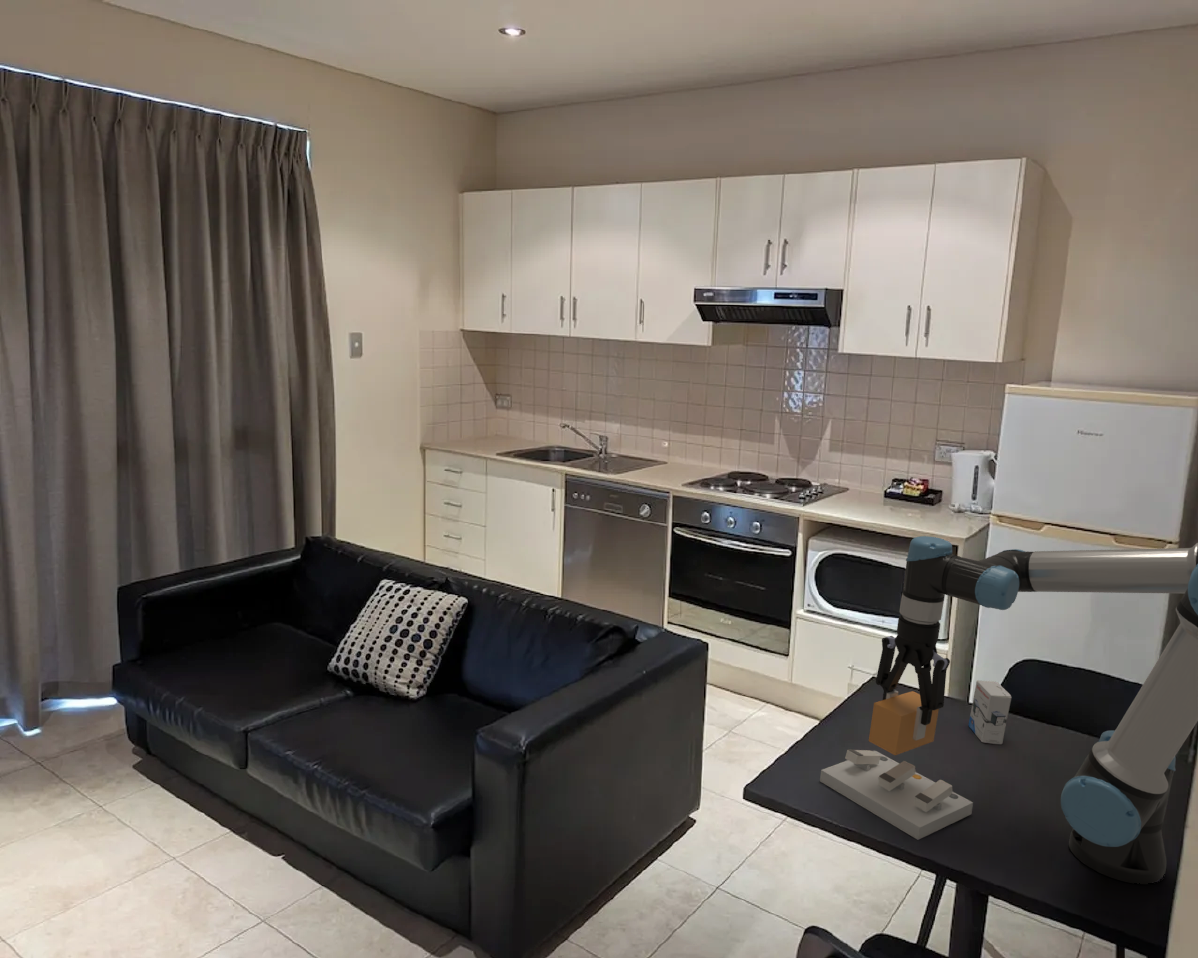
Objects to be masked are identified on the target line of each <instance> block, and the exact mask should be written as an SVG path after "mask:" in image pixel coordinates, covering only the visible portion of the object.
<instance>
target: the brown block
mask: <svg viewBox="0 0 1198 958" xmlns="http://www.w3.org/2000/svg"><path fill="white" fill-rule="evenodd" d="M920 706H921V699H920V693H917V692H915V691H913V690H912V691H908V692H905V693H902V694H898V696H895V697H892V698H888V699H885V700H883V699H882V700H879V701H874V702H873V708H872V716H871V722H870V729H869V736H868V742H870V743H871V744H873V745H875V746H876V747H879V748H880V749H882V750H885V751H886V752H888V753H890V754H891V755H893V756H898V755H900V754H903V753H905V752H910V751H911V750H914V749H917V748H920V747H922V746H925V745H927V744H931V743H933V742H934V741H935V735H936V727H937V723H938V718H939V717H938V716H939V711H940V709H937V710H932V716H931V722H930V724H928V725H926V731H925V737H924V738H922V739H919V740H914V739H913V733H914V726H915V719H916V713H917V707H920Z"/></svg>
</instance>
